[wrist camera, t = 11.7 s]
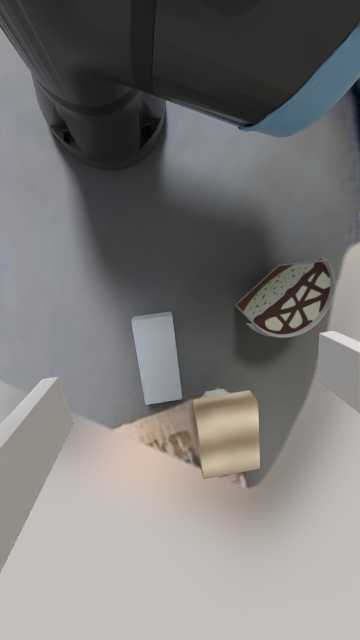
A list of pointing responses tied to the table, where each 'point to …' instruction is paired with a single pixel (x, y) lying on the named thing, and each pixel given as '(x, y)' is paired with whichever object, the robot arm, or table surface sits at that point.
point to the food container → (290, 299)
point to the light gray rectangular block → (157, 357)
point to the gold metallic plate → (227, 433)
